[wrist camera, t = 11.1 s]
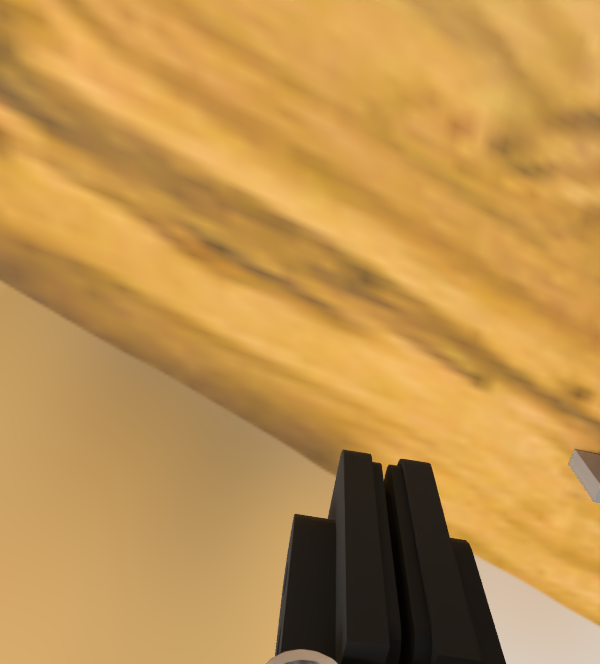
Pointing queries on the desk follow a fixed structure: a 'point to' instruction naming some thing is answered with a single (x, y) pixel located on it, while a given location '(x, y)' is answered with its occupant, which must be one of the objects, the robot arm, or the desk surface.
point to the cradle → (587, 472)
